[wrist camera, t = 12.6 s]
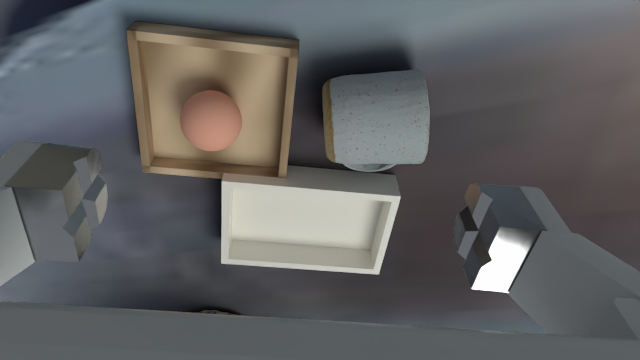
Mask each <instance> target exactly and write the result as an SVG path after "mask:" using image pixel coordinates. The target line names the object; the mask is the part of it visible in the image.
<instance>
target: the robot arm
mask: <svg viewBox="0 0 640 360" xmlns="http://www.w3.org/2000/svg"><path fill="white" fill-rule="evenodd" d="M102 167H103V164H102V159H101V155H100V152H99V151H98V150H97V149H96V148H89V147H80V146H71V145H62V144H53V143H44V142H33V141H18V142H15V143H14V144H13V145H12V146H11V147H10V148H9V149H8V150H7V151H6V152H5V153H4V154H3V155H2V156H1V157H0V286H1V285H3V284H4V283H5V282H7V281H8V280H10V279H11V278H13V277H14V276H15V275H17V274H18V273H20V272H21V271H23V270H24V269H26V268H27V267H28V266H30V265H31V264H33V263H34V262H35V261H34V260H47V261H70V262H79V261H80V259H81V257H82V255H83V254H84V252H85V250H86V248H87V247H88V245H89V243H90V241H91V234H90V230H91V229H93V228H95V227H97V226H98V225H100V223H101V221H102V219H103V217H104V214H105V210H106V206H107V187H106V183H105V182H104V181H103V180H102V179H101V178H100V177H99V176H98V173H99V171H100V170H101V168H102ZM464 199H465V201H466V203H467V205H468V206H467V207H465V208H464V209H463V210H461V211H460V212H459V213H458V215H457V218H456V221H455V224H454V235H453V236H454V244H455V247H456V250H457V252H458V253H459V254H460V255H461V256H462V257H464V258H465V259H466V260H465V263H464V265H463V268H464V271H465V274H466V276H467V279H468V281H469V284H470V287H471V289H476V290H486V291H496V292H507V293H508V295H509V296H510V297H511V298H512V299H513V300H514V301H515V302H516V303H517V304H518V305H519V306H520V307H521V308H522V309H523V310H524V311H525V312H526V313H527V314H528V315H529V316H530V317H531V318H532V319H533V320H534V321H535V322H536V323H537V324H538V325H539V326H540V327H541V328H542V329H543V330H544V331H545V332H546V333H547V334H537V333H520V332H504V331H488V330H472V329H456V328H439V327H423V326H407V325H391V324H375V323H359V322H342V321H325V320H308V319H291V318H275V317H258V316H241V315H224V314H207V313H191V312H175V311H158V310H142V309H125V308H109V307H93V306H76V305H60V304H44V303H27V302H11V301H0V360H640V272H639V271H638V270H636V269H634V268H633V267H631V266H629V265H628V264H626V263H625V262H623V261H621V260H620V259H618V258H617V257H615V256H613V255H612V254H610V253H608V252H607V251H605V250H604V249H602V248H600V247H599V246H597V245H596V244H594V243H592V242H591V241H589V240H587V239H586V238H584V237H583V236H581V235H579V234H574V233H571V231H570V230H569V229H568V227H567V226H566V224H565V223H564V221H563V220H562V219H561V217H560V216H559V214H558V213H557V211H556V210H555V209H554V207H553V206H552V204H551V203H550V201H549V200H548V199H547V197H546V196H545V194H544V193H543V191H542V190H540V189H539V188H537V187H524V186H503V185H489V184H475V183H472V184H471V185H470V186H469V188H468V189H467V192H466V194H465V197H464Z"/></svg>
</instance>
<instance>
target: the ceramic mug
mask: <svg viewBox="0 0 640 360" xmlns="http://www.w3.org/2000/svg"><path fill="white" fill-rule="evenodd" d="M322 98H323V122H324V140H325V149H326V156H327V158H329V159H330V160H331V161H332V162H336V163H341V164H344V165H345V166H346V167H348V168H350V169H353V170H357V171H365V172H375V171H381V170H385V169H389V168H391V167H393V166H394V165H396V164H419V163H423V161H424V160H425V157H426V155H427V150H428V142H429V121H430V111H429V101H428V91H427V86H426V81H425V78H424V75H423V73H422V72H421V71H420V70H417V69H415V70H406V71H391V72H381V73H371V74H356V75H345V76H340V77H336V78H332V79H329V80H327V82H326V83H325V84H324V85H323V89H322Z"/></svg>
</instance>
